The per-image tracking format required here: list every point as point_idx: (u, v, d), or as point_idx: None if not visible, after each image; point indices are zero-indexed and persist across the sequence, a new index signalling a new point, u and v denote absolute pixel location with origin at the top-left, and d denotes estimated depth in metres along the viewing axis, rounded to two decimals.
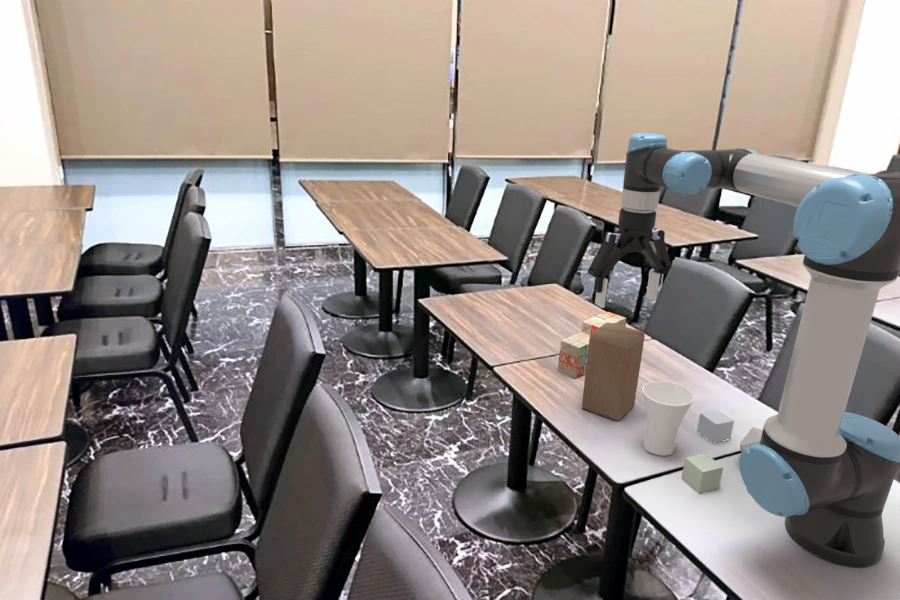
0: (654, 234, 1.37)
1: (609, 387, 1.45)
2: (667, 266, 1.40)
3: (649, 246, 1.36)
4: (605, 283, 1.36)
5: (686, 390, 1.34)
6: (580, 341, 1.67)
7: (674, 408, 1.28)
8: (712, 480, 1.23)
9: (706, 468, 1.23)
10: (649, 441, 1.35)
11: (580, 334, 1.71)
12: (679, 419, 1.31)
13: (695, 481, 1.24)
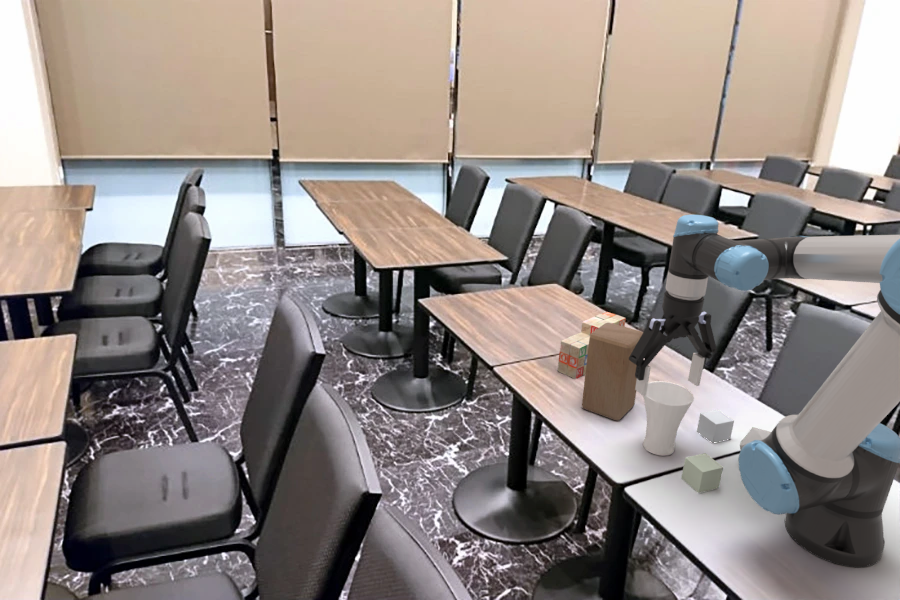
0: (700, 318, 1.28)
1: (609, 387, 1.45)
2: (712, 350, 1.32)
3: (695, 331, 1.27)
4: (647, 371, 1.27)
5: (686, 390, 1.34)
6: (580, 341, 1.66)
7: (674, 408, 1.28)
8: (712, 480, 1.23)
9: (706, 468, 1.23)
10: (649, 441, 1.35)
11: (580, 334, 1.71)
12: (679, 419, 1.31)
13: (695, 481, 1.24)
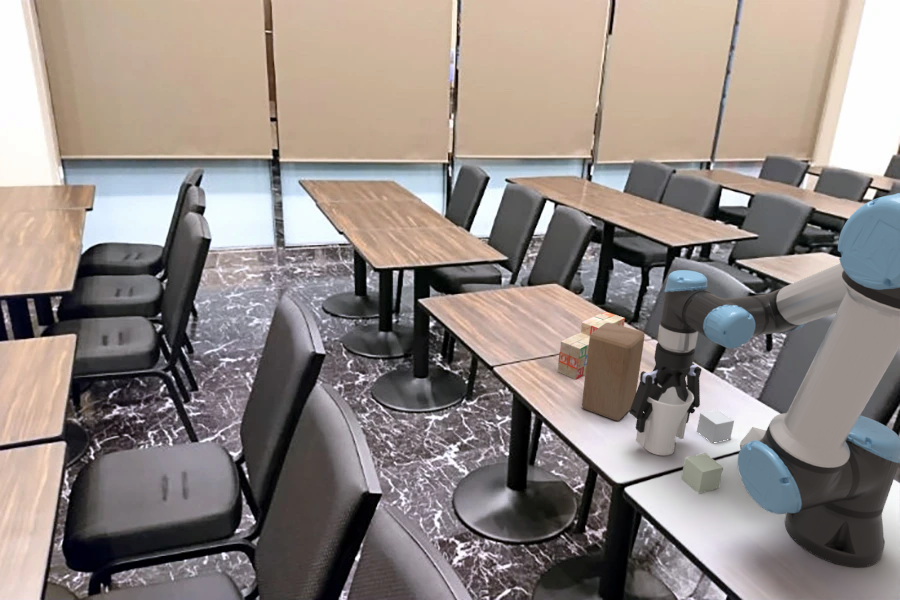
0: (691, 370, 1.32)
1: (609, 387, 1.45)
2: (695, 404, 1.35)
3: (684, 383, 1.31)
4: (648, 424, 1.32)
5: None
6: (580, 342, 1.66)
7: (674, 408, 1.28)
8: (712, 480, 1.23)
9: (706, 468, 1.23)
10: (649, 441, 1.35)
11: (579, 335, 1.71)
12: (679, 419, 1.31)
13: (695, 481, 1.24)
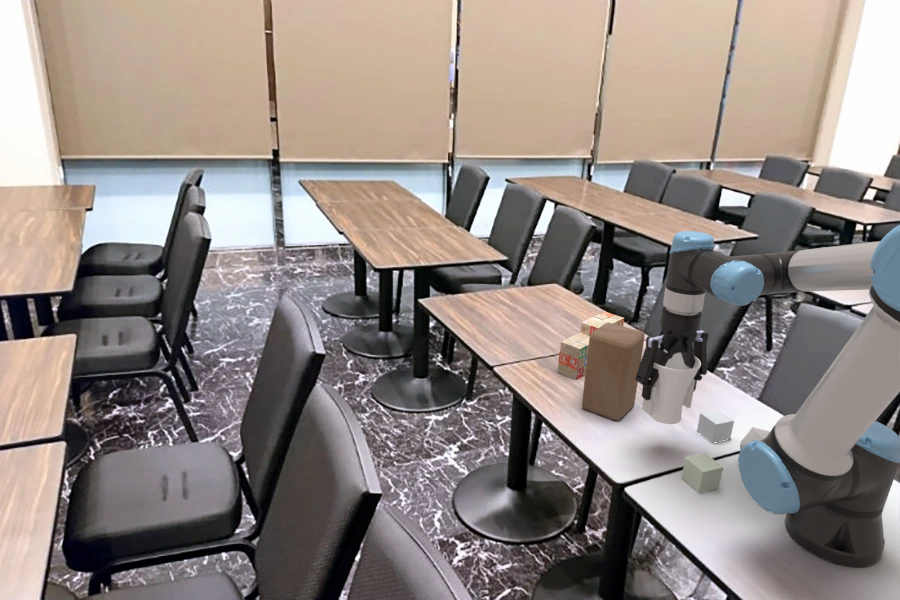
0: (697, 335, 1.29)
1: (609, 387, 1.45)
2: (703, 371, 1.32)
3: (691, 348, 1.28)
4: (654, 391, 1.29)
5: None
6: (580, 342, 1.66)
7: (681, 373, 1.25)
8: (712, 480, 1.23)
9: (706, 468, 1.23)
10: (655, 409, 1.32)
11: (579, 335, 1.71)
12: (686, 385, 1.28)
13: (695, 481, 1.24)
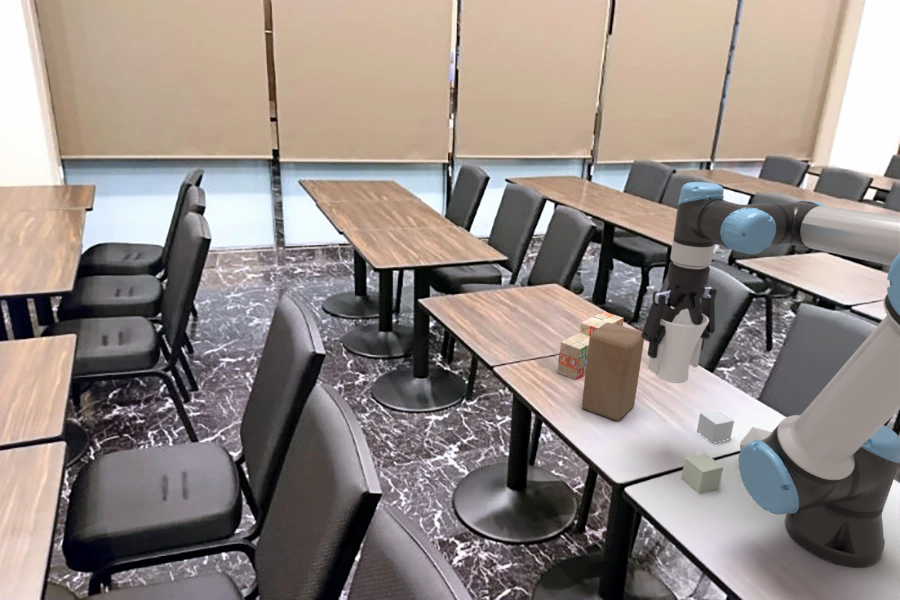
0: (705, 292, 1.26)
1: (609, 387, 1.45)
2: (710, 329, 1.29)
3: (699, 305, 1.25)
4: (661, 348, 1.26)
5: None
6: (580, 342, 1.66)
7: (688, 329, 1.22)
8: (712, 480, 1.23)
9: (706, 468, 1.23)
10: (662, 368, 1.29)
11: (579, 335, 1.71)
12: (693, 342, 1.25)
13: (695, 481, 1.24)
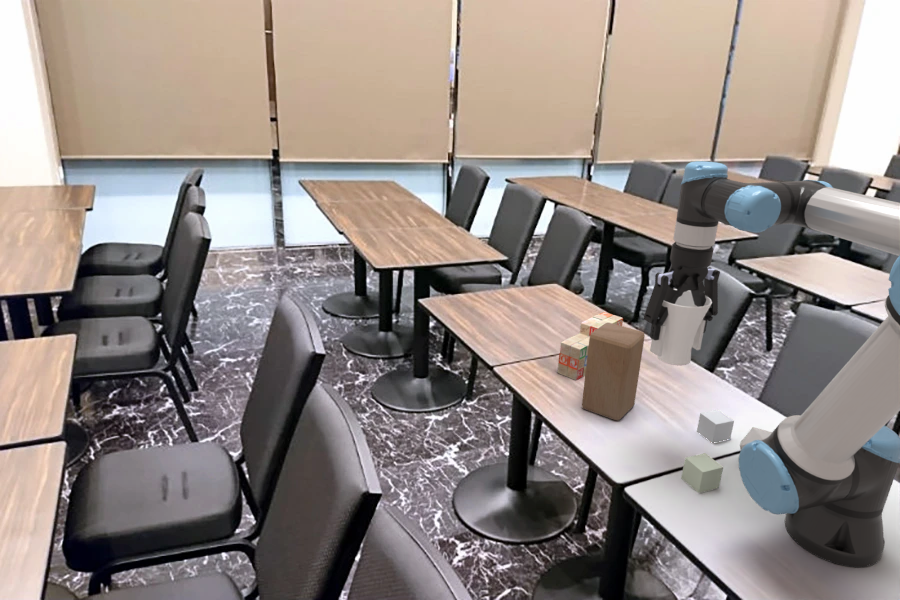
0: (708, 273, 1.25)
1: (609, 387, 1.45)
2: (713, 311, 1.28)
3: (702, 286, 1.24)
4: (663, 330, 1.24)
5: None
6: (580, 342, 1.66)
7: (691, 310, 1.21)
8: (712, 480, 1.23)
9: (706, 468, 1.23)
10: (664, 351, 1.28)
11: (578, 335, 1.70)
12: (696, 324, 1.23)
13: (695, 481, 1.24)
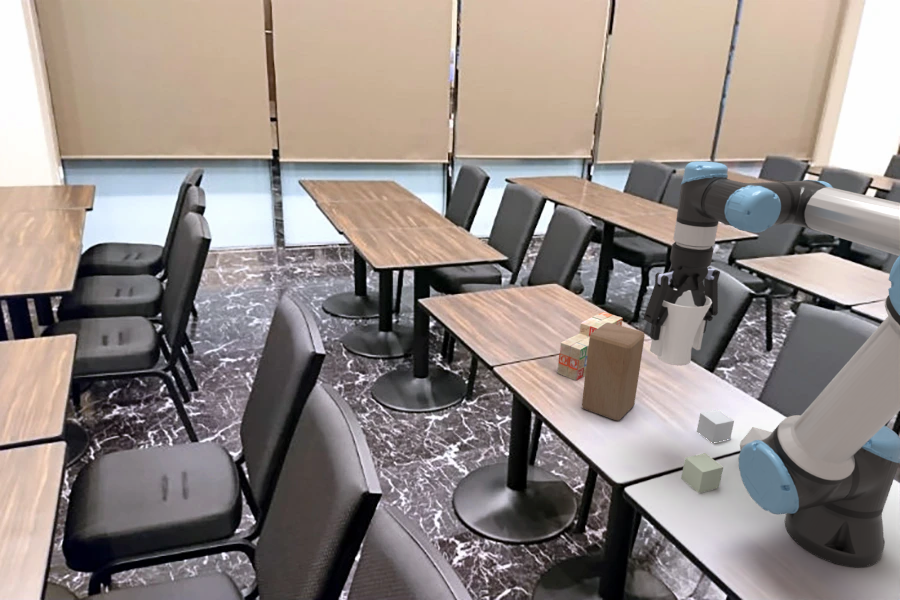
0: (708, 273, 1.25)
1: (609, 387, 1.45)
2: (713, 311, 1.28)
3: (702, 286, 1.24)
4: (663, 330, 1.24)
5: None
6: (580, 343, 1.66)
7: (691, 310, 1.21)
8: (712, 480, 1.23)
9: (706, 468, 1.23)
10: (664, 351, 1.28)
11: (578, 335, 1.70)
12: (696, 324, 1.23)
13: (695, 481, 1.24)
